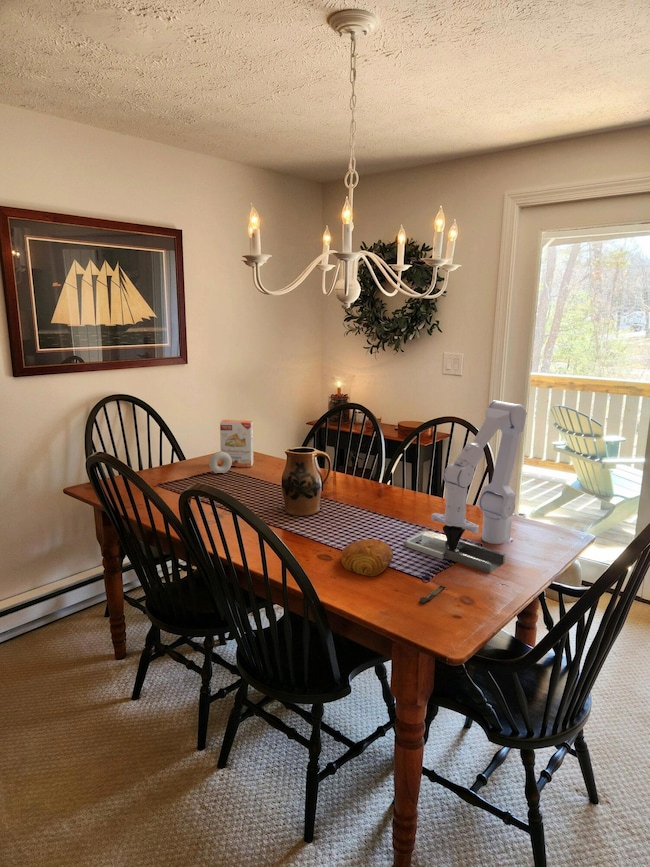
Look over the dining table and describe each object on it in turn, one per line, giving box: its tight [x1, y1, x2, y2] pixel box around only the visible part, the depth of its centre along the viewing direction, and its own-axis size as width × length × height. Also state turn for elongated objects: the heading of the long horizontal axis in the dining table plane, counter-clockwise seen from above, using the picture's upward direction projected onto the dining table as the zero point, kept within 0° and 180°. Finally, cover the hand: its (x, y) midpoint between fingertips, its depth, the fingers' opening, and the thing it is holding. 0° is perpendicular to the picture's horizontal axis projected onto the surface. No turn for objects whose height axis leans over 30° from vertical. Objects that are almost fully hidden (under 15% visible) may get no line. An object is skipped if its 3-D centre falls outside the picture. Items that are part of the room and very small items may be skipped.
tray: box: [403, 530, 459, 560], centre depth 169 cm, size 12×13×2 cm
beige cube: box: [420, 530, 439, 549], centre depth 170 cm, size 4×4×4 cm
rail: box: [444, 540, 506, 574], centre depth 160 cm, size 9×14×4 cm, turn 47°
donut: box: [208, 450, 232, 474], centre depth 242 cm, size 10×3×10 cm, turn 118°
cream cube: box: [433, 533, 449, 554], centre depth 167 cm, size 4×4×4 cm
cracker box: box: [219, 419, 254, 468], centre depth 254 cm, size 14×6×21 cm, turn 86°
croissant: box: [340, 538, 394, 577], centre depth 158 cm, size 14×16×8 cm
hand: (452, 549), depth 165 cm, fingers closed
